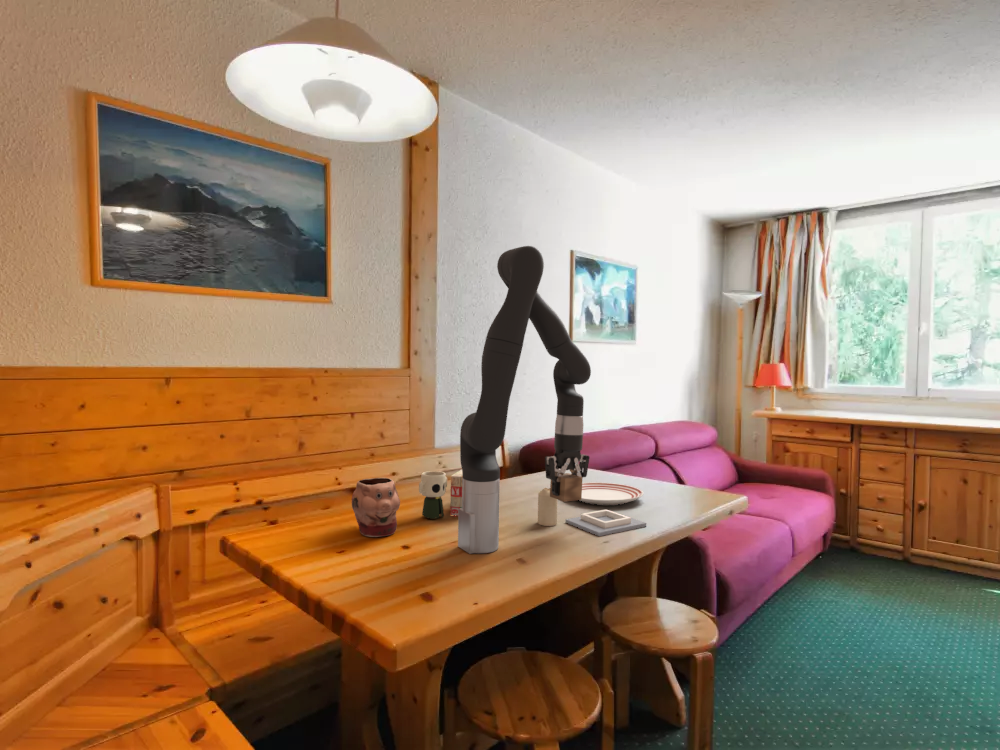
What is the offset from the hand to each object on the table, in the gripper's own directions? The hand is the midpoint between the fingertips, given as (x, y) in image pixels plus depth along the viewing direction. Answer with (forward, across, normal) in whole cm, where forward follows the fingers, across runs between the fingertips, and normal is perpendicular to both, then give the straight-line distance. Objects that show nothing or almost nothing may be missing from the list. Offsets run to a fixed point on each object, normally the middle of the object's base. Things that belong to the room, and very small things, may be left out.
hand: (565, 494), depth 146 cm
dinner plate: (+10, +36, +23) cm, 44 cm away
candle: (+11, +2, +10) cm, 15 cm away
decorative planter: (+12, -43, +27) cm, 52 cm away
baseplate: (+10, +16, 0) cm, 19 cm away
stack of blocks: (+12, -9, +35) cm, 38 cm away
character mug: (+12, -24, +31) cm, 41 cm away
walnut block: (+1, 0, 0) cm, 1 cm away
